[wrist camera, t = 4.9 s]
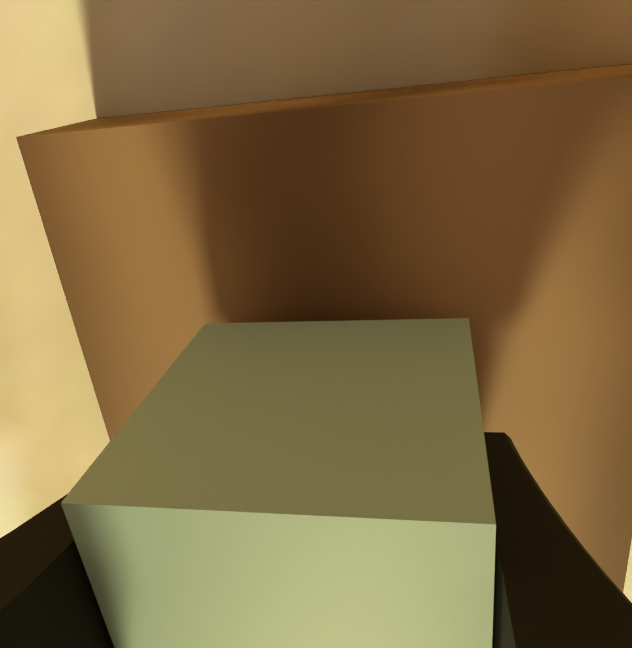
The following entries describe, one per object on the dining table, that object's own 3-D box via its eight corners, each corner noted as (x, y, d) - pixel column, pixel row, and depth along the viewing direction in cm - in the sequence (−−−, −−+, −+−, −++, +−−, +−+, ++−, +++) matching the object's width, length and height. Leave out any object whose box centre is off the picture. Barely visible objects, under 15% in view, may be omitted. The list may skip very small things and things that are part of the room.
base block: (643, 62, 11) (706, 68, 9) (588, 524, 16) (618, 617, 14) (95, 118, 14) (16, 137, 11) (192, 505, 19) (153, 581, 16)
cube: (468, 317, 10) (496, 524, 6) (467, 529, 12) (486, 799, 8) (205, 323, 11) (61, 502, 7) (244, 518, 13) (153, 751, 9)
